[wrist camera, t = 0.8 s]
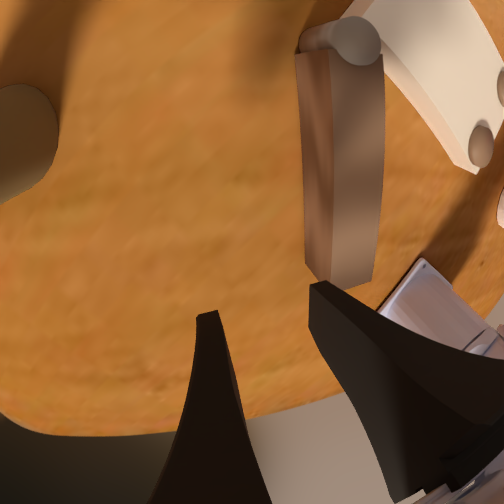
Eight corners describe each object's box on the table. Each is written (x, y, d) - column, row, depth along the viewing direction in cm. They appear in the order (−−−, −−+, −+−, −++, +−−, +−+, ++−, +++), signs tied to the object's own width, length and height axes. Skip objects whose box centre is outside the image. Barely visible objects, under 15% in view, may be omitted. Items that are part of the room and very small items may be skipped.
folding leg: (291, 25, 12) (327, 12, 9) (340, 29, 12) (383, 21, 9) (305, 263, 20) (331, 298, 17) (343, 252, 20) (373, 283, 17)
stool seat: (494, 85, 17) (520, 92, 14) (454, 164, 20) (481, 177, 17) (399, -52, 9) (429, -60, 7) (334, 24, 12) (367, 16, 10)
